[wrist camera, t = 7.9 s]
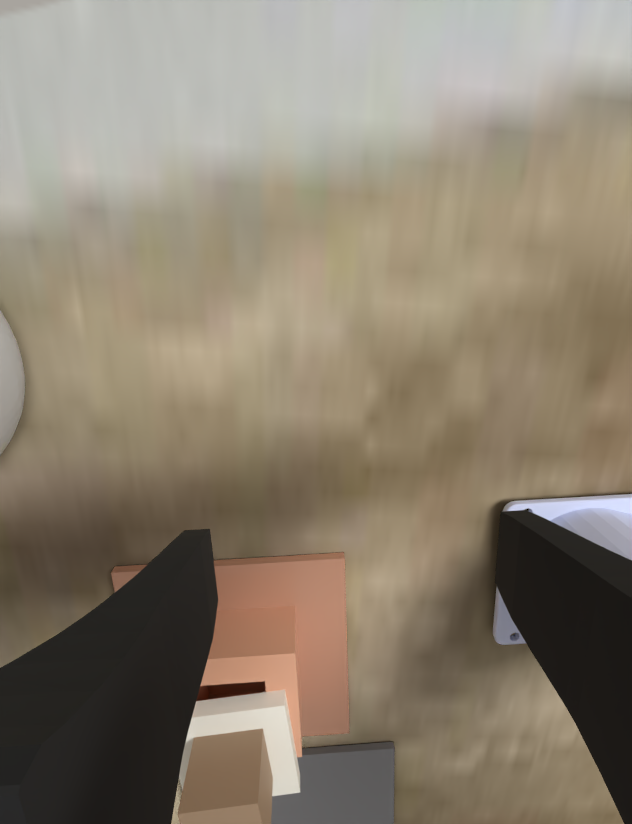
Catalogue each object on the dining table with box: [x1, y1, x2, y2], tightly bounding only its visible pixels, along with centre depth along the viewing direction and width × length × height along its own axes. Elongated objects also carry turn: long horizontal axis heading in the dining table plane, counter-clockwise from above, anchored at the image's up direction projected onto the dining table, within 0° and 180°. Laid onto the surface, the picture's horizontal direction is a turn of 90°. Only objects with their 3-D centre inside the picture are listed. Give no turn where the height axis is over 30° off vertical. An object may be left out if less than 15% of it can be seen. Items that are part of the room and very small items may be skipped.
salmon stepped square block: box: [111, 552, 349, 757], centre depth 23 cm, size 11×11×4 cm
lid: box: [178, 690, 300, 824], centre depth 20 cm, size 5×5×4 cm
